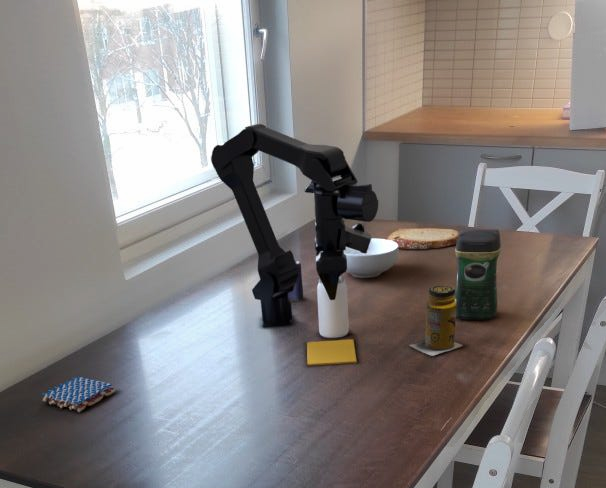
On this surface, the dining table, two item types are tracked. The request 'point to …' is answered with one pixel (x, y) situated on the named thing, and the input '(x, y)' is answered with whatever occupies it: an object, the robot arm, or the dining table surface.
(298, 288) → the flask
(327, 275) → the robot arm
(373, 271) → the cereal bowl
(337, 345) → the cloth
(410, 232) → the slice of bread
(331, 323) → the can
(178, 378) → the dining table surface
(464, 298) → the coffee jar
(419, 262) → the dining table surface
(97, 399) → the woven mat
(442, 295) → the condiment
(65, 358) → the dining table surface
